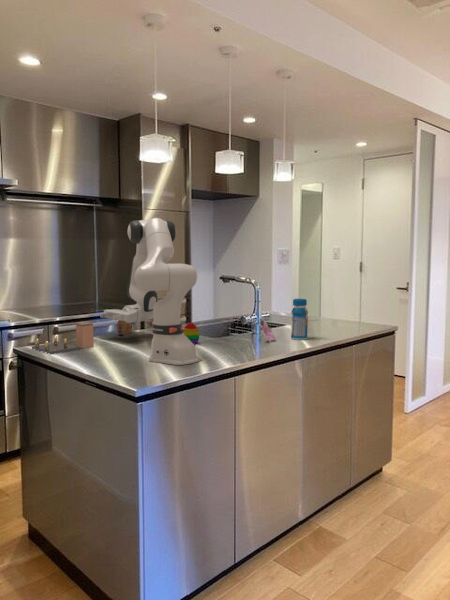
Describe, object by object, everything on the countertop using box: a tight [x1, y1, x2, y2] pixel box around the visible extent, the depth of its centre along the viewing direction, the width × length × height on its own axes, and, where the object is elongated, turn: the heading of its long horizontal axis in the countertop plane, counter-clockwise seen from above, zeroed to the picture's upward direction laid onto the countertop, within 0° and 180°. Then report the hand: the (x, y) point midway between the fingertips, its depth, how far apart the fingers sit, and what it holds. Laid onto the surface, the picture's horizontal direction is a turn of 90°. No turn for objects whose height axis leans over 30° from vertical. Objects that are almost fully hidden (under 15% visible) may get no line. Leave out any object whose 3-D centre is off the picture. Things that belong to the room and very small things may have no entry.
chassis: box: [31, 335, 81, 355], centre depth 218 cm, size 17×14×5 cm
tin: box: [116, 320, 133, 336], centre depth 259 cm, size 15×3×8 cm, turn 168°
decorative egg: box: [183, 322, 200, 345], centre depth 231 cm, size 8×8×10 cm
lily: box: [258, 320, 278, 344], centre depth 236 cm, size 12×12×10 cm
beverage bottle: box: [290, 298, 309, 341], centre depth 242 cm, size 8×8×20 cm
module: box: [75, 321, 95, 350], centre depth 223 cm, size 6×6×11 cm
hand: (106, 316), depth 232 cm, fingers open, 8 cm apart
